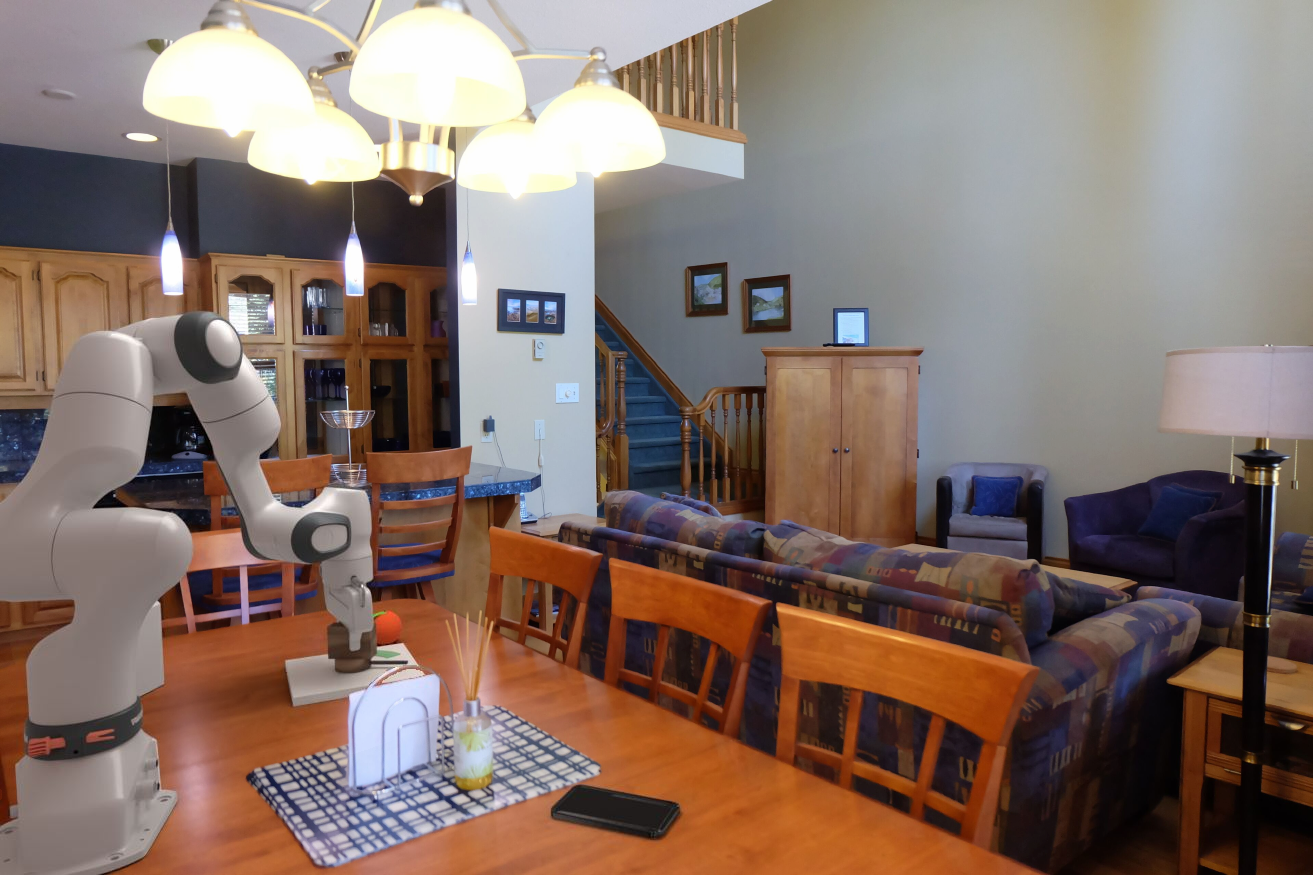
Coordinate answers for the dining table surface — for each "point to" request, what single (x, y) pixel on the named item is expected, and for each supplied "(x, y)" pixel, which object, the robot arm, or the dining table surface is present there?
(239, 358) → the robot arm
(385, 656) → the dial plate
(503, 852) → the dining table surface
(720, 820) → the dining table surface
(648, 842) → the dining table surface
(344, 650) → the tuning knob
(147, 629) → the milk carton
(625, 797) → the phone
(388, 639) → the clementine
